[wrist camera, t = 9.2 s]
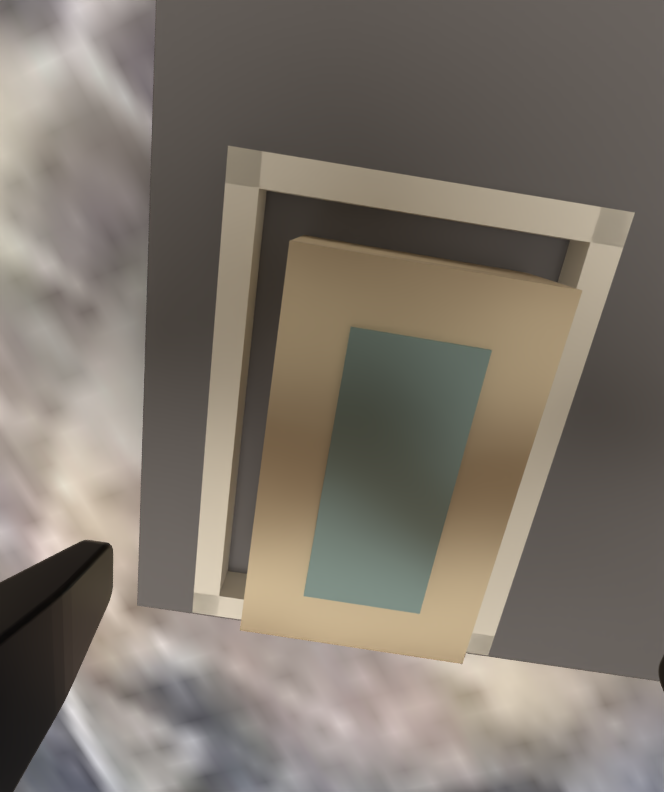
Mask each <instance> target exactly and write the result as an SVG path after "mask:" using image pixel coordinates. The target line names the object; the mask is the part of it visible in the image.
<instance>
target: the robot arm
mask: <svg viewBox="0 0 664 792" xmlns="http://www.w3.org/2000/svg"><path fill="white" fill-rule="evenodd" d="M112 589H113V549H112V546H111V545H110V544H109V543H106V542H100V541H93V540H83V541H81V542H79V543H77V544H75V545H73V546H71V547H69V548H67V549H65V550H63V551H61V552H59V553H57V554H55V555H53V556H51V557H49V558H47V559H45V560H43V561H41V562H39V563H37V564H35V565H33V566H31V567H29V568H27V569H25V570H23V571H21V572H20V573H18V574H16V575H14V576H12V577H10V578H8V579H6V580H4V581H2V582H0V792H13V791H14V790H15V788H16V786H17V784H18V783H19V781H20V779H21V777H22V776H23V774H24V772H25V770H26V769H27V767H28V765H29V763H30V762H31V760H32V758H33V756H34V755H35V753H36V751H37V749H38V748H39V746H40V744H41V742H42V741H43V739H44V737H45V735H46V734H47V732H48V730H49V728H50V727H51V725H52V723H53V721H54V720H55V718H56V716H57V714H58V712H59V710H60V709H61V707H62V705H63V703H64V701H65V699H66V697H67V695H68V693H69V691H70V689H71V686H72V684H73V682H74V680H75V678H76V675H77V673H78V671H79V669H80V666H81V664H82V662H83V660H84V657H85V655H86V653H87V651H88V648H89V646H90V644H91V642H92V639H93V637H94V635H95V633H96V630H97V628H98V626H99V624H100V621H101V619H102V617H103V615H104V612H105V610H106V608H107V606H108V603H109V601H110V598H111V594H112ZM658 675H659V680H660V683H661V686H662V688H663V691H664V655H663V657H662V659H661V661H660V664H659V669H658Z"/></svg>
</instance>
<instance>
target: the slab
mask: <svg viewBox="0 0 664 792" xmlns="http://www.w3.org/2000/svg"><path fill="white" fill-rule="evenodd" d="M582 291H583V290H579V289H576V288H573V287H570V286H567V285H564V284H560V283H557V282H554V281H551V280H548V279H545V278H541V277H538V276H535V275H532V274H529V273H525V272H519V271H514V270H508V269H502V268H496V267H490V266H484V265H478V264H472V263H466V262H461V261H455V260H449V259H443V258H437V257H431V256H425V255H419V254H413V253H408V252H402V251H396V250H390V249H384V248H378V247H372V246H366V245H360V244H354V243H349V242H343V241H337V240H331V239H325V238H319V237H313V236H307V235H303V236H300V237H298V238H295V239H293V240H291V241H289V249H288V257H287V265H286V273H285V280H284V288H283V296H282V304H281V312H280V320H279V328H278V335H277V343H276V351H275V359H274V367H273V375H272V382H271V390H270V398H269V406H268V414H267V422H266V430H265V437H264V445H263V453H262V461H261V469H260V477H259V485H258V492H257V500H256V508H255V516H254V524H253V532H252V539H251V547H250V555H249V563H248V571H247V579H246V587H245V594H244V602H243V610H242V618H241V626H240V630H242V631H248V632H255V633H261V634H268V635H275V636H281V637H288V638H295V639H301V640H308V641H314V642H321V643H328V644H334V645H341V646H348V647H354V648H361V649H367V650H374V651H381V652H387V653H394V654H401V655H407V656H414V657H420V658H427V659H434V660H440V661H447V662H453V663H460V664H462V663H463V660H464V657H465V654H466V651H467V648H468V644H469V641H470V638H471V635H472V632H473V629H474V626H475V623H476V620H477V617H478V613H479V610H480V607H481V604H482V601H483V598H484V595H485V592H486V589H487V586H488V582H489V579H490V576H491V573H492V570H493V567H494V564H495V561H496V558H497V554H498V551H499V548H500V545H501V542H502V539H503V536H504V533H505V530H506V527H507V523H508V520H509V517H510V514H511V511H512V508H513V505H514V502H515V499H516V496H517V492H518V489H519V486H520V483H521V480H522V477H523V474H524V471H525V468H526V464H527V461H528V458H529V455H530V452H531V449H532V446H533V443H534V440H535V437H536V433H537V430H538V427H539V424H540V421H541V418H542V415H543V412H544V409H545V406H546V402H547V399H548V396H549V393H550V390H551V387H552V384H553V381H554V378H555V374H556V371H557V368H558V365H559V362H560V359H561V356H562V353H563V350H564V347H565V343H566V340H567V337H568V334H569V331H570V328H571V325H572V322H573V319H574V316H575V312H576V309H577V306H578V303H579V300H580V297H581V294H582Z"/></svg>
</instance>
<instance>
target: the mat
mask: <svg viewBox="0 0 664 792" xmlns="http://www.w3.org/2000/svg"><path fill="white" fill-rule="evenodd" d="M303 235H307V236H313V237H319V238H325V239H331V240H337V241H343V242H349V243H354V244H360V245H366V246H372V247H378V248H384V249H390V250H396V251H402V252H408V253H413V254H419V255H425V256H431V257H437V258H443V259H449V260H455V261H461V262H466V263H472V264H478V265H484V266H490V267H496V268H502V269H508V270H514V271H519V272H525V273H529V274H532V275H535V276H538V277H541V278H545V279H548V280H551V281H554V282H557V283H560V284H564V285H567V286H570V287H573V288H576V289H579V290H583V291H582V294H581V297H580V300H579V303H578V306H577V309H576V312H575V316H574V319H573V322H572V325H571V328H570V331H569V334H568V337H567V340H566V343H565V347H564V350H563V353H562V356H561V359H560V362H559V365H558V368H557V371H556V374H555V378H554V381H553V384H552V387H551V390H550V393H549V396H548V399H547V402H546V406H545V409H544V412H543V415H542V418H541V421H540V424H539V427H538V430H537V433H536V437H535V440H534V443H533V446H532V449H531V452H530V455H529V458H528V461H527V464H526V468H525V471H524V474H523V477H522V480H521V483H520V486H519V489H518V492H517V496H516V499H515V502H514V505H513V508H512V511H511V514H510V517H509V520H508V523H507V527H506V530H505V533H504V536H503V539H502V542H501V545H500V548H499V551H498V554H497V558H496V561H495V564H494V567H493V570H492V573H491V576H490V579H489V582H488V586H487V589H486V592H485V595H484V598H483V601H482V604H481V607H480V610H479V613H478V617H477V620H476V623H475V626H474V629H473V632H472V635H471V638H470V641H469V644H468V648H467V651H466V653H468V654H475V655H482V656H489V657H496V658H502V659H509V660H516V661H523V662H530V663H537V664H544V665H551V666H558V667H564V668H571V669H578V670H585V671H592V672H599V673H606V674H613V675H619V676H626V677H633V678H640V679H647V680H654V681H660V680H659V675H658V669H659V664H660V661H661V659H662V657H663V655H664V0H156V20H155V52H154V85H153V117H152V149H151V181H150V213H149V245H148V277H147V310H146V342H145V374H144V406H143V438H142V470H141V502H140V535H139V567H138V599H137V605H138V606H145V607H151V608H158V609H165V610H172V611H179V612H186V613H193V614H200V615H206V616H213V617H220V618H227V619H234V620H241V618H242V610H243V602H244V594H245V587H246V579H247V571H248V563H249V555H250V547H251V539H252V532H253V524H254V516H255V508H256V500H257V492H258V485H259V477H260V469H261V461H262V453H263V445H264V437H265V430H266V422H267V414H268V406H269V398H270V390H271V382H272V375H273V367H274V359H275V351H276V343H277V335H278V328H279V320H280V312H281V304H282V296H283V288H284V280H285V273H286V265H287V257H288V249H289V241H291V240H293V239H295V238H298V237H300V236H303Z"/></svg>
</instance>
